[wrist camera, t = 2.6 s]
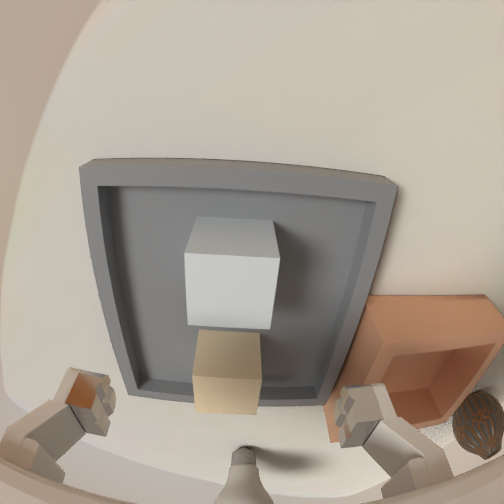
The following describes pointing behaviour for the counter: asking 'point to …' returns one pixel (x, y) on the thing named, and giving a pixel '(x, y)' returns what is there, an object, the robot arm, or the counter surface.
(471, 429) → the vase
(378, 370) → the salmon square storage bin
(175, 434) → the counter surface
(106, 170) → the parts tray
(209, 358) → the beige wooden cube
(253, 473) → the lightbulb
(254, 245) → the pebble gray block
